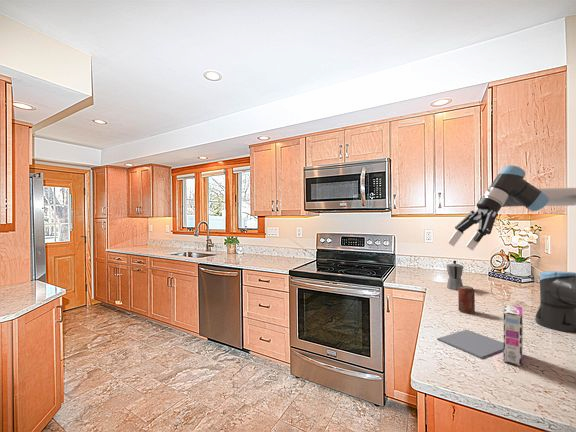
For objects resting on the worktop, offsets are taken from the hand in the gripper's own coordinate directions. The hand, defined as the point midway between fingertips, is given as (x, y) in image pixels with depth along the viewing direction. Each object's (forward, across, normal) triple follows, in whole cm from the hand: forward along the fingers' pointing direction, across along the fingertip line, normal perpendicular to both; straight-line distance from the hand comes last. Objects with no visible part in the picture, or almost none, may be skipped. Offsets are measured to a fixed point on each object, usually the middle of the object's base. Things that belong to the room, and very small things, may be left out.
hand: (459, 246), depth 113 cm
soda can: (+18, -31, +37) cm, 51 cm away
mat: (+28, +5, +23) cm, 36 cm away
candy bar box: (+24, +16, +29) cm, 41 cm away
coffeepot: (+8, -74, +50) cm, 89 cm away
